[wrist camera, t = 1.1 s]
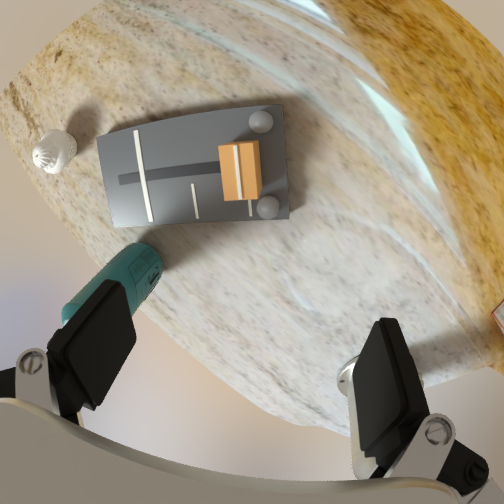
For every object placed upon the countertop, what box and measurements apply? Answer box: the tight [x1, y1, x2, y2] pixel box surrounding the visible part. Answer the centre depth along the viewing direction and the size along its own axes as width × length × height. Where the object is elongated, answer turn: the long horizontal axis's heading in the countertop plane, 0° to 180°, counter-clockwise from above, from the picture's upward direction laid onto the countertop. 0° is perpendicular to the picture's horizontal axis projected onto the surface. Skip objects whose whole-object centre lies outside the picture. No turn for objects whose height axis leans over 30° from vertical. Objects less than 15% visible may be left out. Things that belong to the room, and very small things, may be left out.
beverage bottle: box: [47, 243, 163, 347], centre depth 28 cm, size 6×7×20 cm
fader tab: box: [218, 140, 263, 201], centre depth 25 cm, size 3×5×4 cm, turn 5°
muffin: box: [32, 129, 77, 174], centre depth 28 cm, size 6×6×7 cm
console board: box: [96, 104, 289, 228], centre depth 29 cm, size 22×12×4 cm, turn 95°
